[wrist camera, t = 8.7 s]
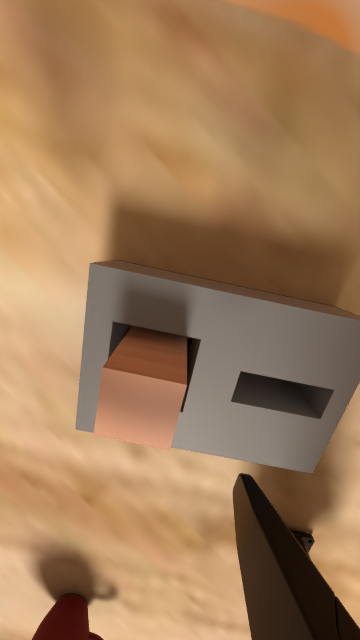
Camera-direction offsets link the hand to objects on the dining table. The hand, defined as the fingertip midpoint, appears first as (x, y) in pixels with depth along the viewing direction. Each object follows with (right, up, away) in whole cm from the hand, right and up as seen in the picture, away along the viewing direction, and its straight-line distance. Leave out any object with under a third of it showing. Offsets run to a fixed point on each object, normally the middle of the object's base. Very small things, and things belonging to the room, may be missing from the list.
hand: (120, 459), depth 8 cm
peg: (0, +3, +11) cm, 12 cm away
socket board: (+5, +2, +11) cm, 13 cm away
